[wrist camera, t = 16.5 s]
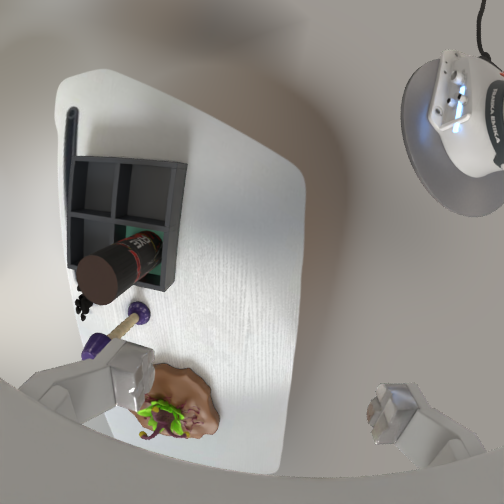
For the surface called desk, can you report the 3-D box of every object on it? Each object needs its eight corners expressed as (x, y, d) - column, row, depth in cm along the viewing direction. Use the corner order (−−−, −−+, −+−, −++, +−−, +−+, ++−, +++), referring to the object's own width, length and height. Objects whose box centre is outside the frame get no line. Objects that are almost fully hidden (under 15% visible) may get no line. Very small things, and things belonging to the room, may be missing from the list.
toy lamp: (122, 308, 48) (71, 356, 31) (136, 292, 47) (84, 340, 30) (141, 327, 48) (96, 382, 32) (156, 313, 47) (111, 368, 31)
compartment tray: (87, 156, 42) (71, 155, 37) (187, 164, 41) (177, 162, 36) (82, 260, 46) (67, 268, 42) (174, 281, 46) (164, 292, 41)
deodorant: (167, 235, 43) (119, 262, 28) (161, 271, 44) (116, 311, 30) (133, 226, 43) (77, 249, 28) (129, 262, 44) (76, 296, 30)
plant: (113, 360, 51) (86, 393, 40) (204, 362, 49) (189, 403, 38) (144, 428, 55) (127, 461, 45) (224, 433, 53) (216, 473, 43)
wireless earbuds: (85, 279, 47) (70, 288, 42) (96, 281, 47) (81, 291, 42) (89, 313, 49) (75, 324, 44) (99, 315, 49) (86, 327, 44)
